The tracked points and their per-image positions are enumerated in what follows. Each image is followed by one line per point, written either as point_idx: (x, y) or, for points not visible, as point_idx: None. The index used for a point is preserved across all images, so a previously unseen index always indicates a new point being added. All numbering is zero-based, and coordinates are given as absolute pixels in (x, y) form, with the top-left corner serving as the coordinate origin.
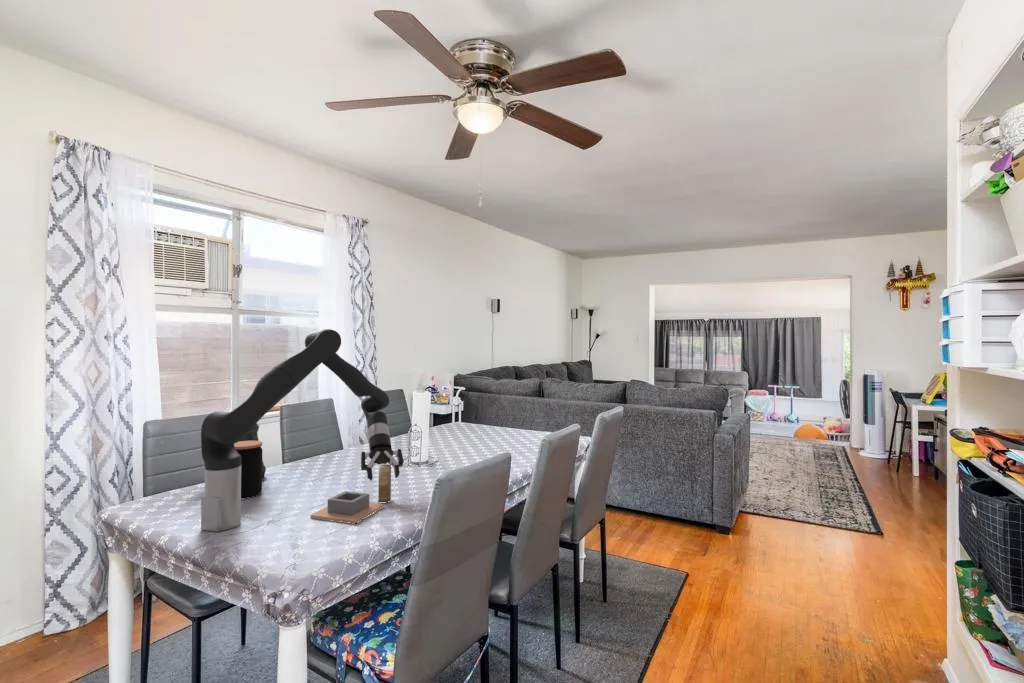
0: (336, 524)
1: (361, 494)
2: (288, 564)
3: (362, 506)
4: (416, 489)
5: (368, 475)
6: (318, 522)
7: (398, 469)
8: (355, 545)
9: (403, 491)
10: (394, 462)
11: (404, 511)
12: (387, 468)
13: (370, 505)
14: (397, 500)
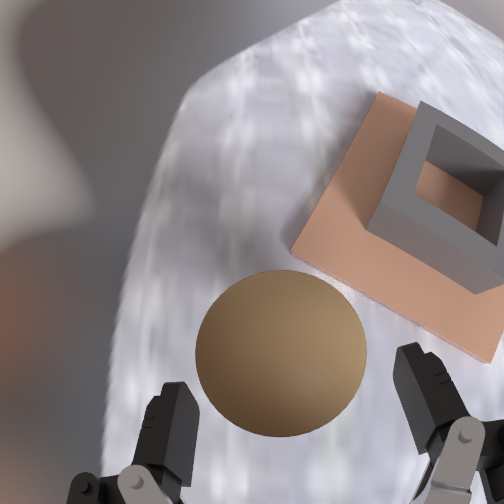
0: None
1: (420, 201)
2: (424, 5)
3: (390, 175)
4: None
5: (437, 363)
6: None
7: (144, 434)
8: (337, 16)
9: None
10: (155, 499)
11: (204, 185)
12: (247, 280)
13: (360, 239)
14: None
